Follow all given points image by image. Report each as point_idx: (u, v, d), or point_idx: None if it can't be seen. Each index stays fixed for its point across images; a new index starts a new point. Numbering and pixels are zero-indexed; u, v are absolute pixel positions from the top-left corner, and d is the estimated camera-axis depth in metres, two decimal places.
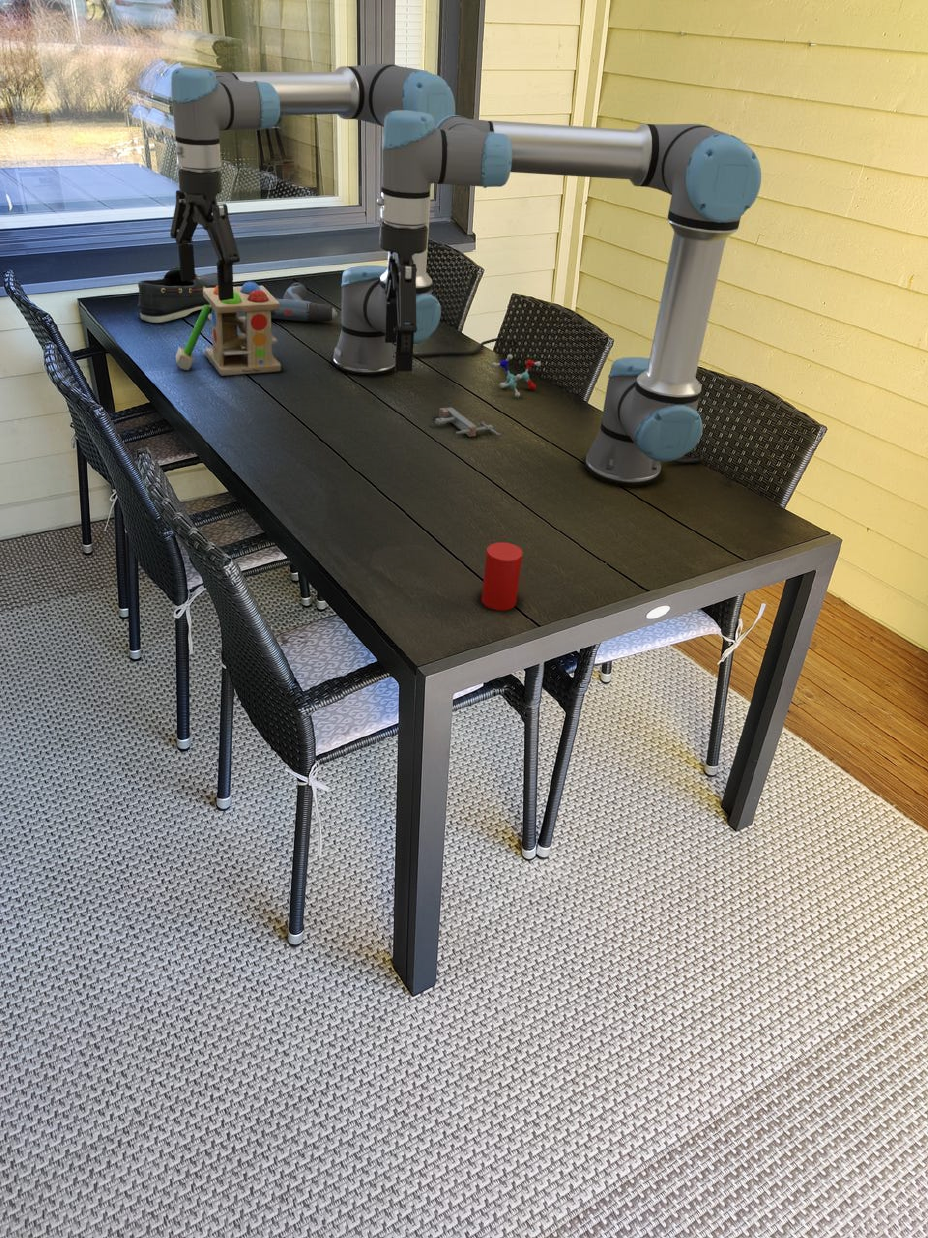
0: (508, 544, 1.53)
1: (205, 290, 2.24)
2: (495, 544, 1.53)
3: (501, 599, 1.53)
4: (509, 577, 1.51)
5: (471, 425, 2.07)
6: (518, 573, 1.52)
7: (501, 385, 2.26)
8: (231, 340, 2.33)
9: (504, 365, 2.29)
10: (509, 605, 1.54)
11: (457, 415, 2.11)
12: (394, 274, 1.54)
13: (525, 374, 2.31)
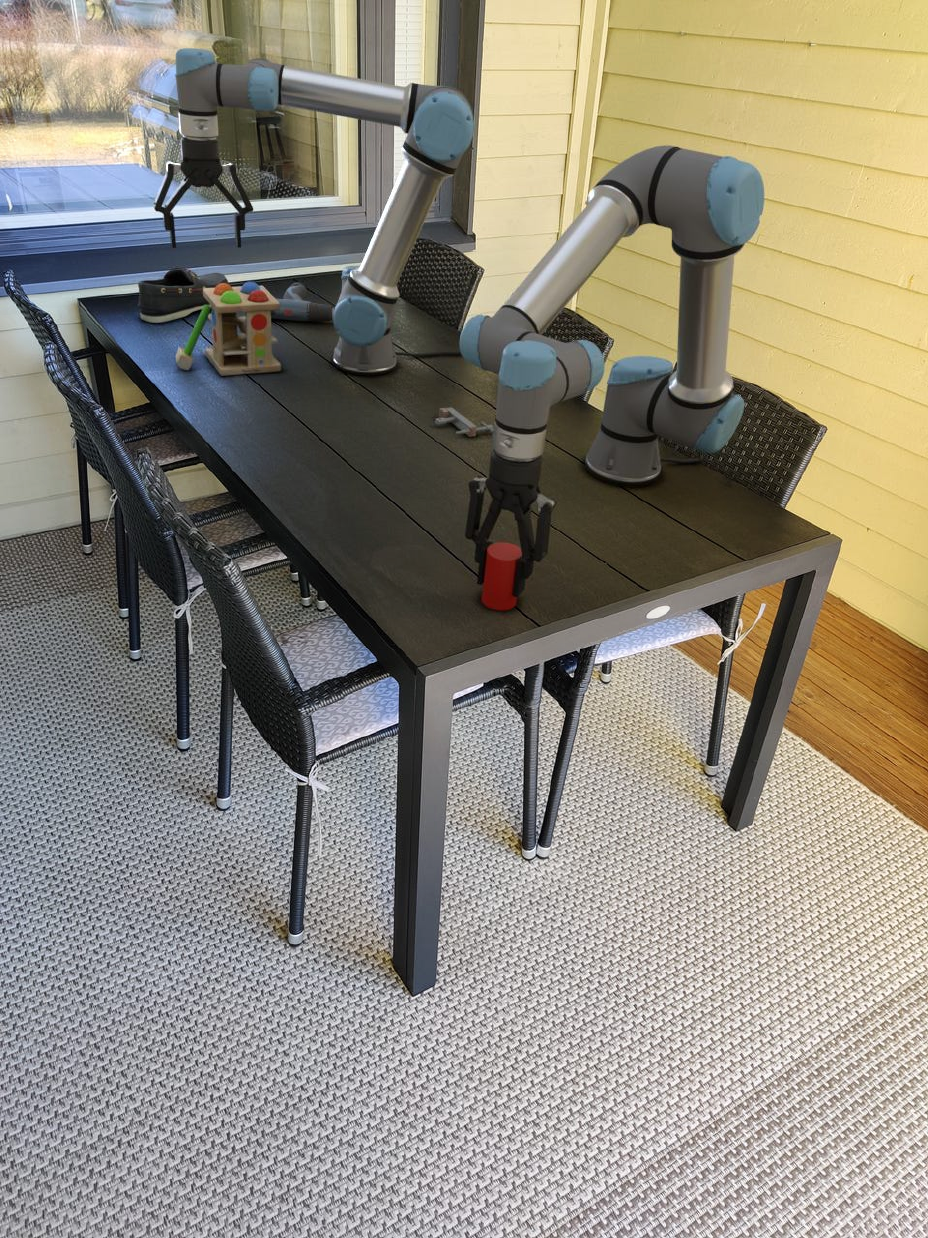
0: (508, 544, 1.53)
1: (205, 290, 2.24)
2: (495, 544, 1.53)
3: (501, 599, 1.53)
4: (509, 577, 1.51)
5: (471, 425, 2.07)
6: None
7: None
8: (231, 340, 2.33)
9: None
10: (509, 605, 1.54)
11: (457, 415, 2.11)
12: (520, 507, 1.44)
13: None
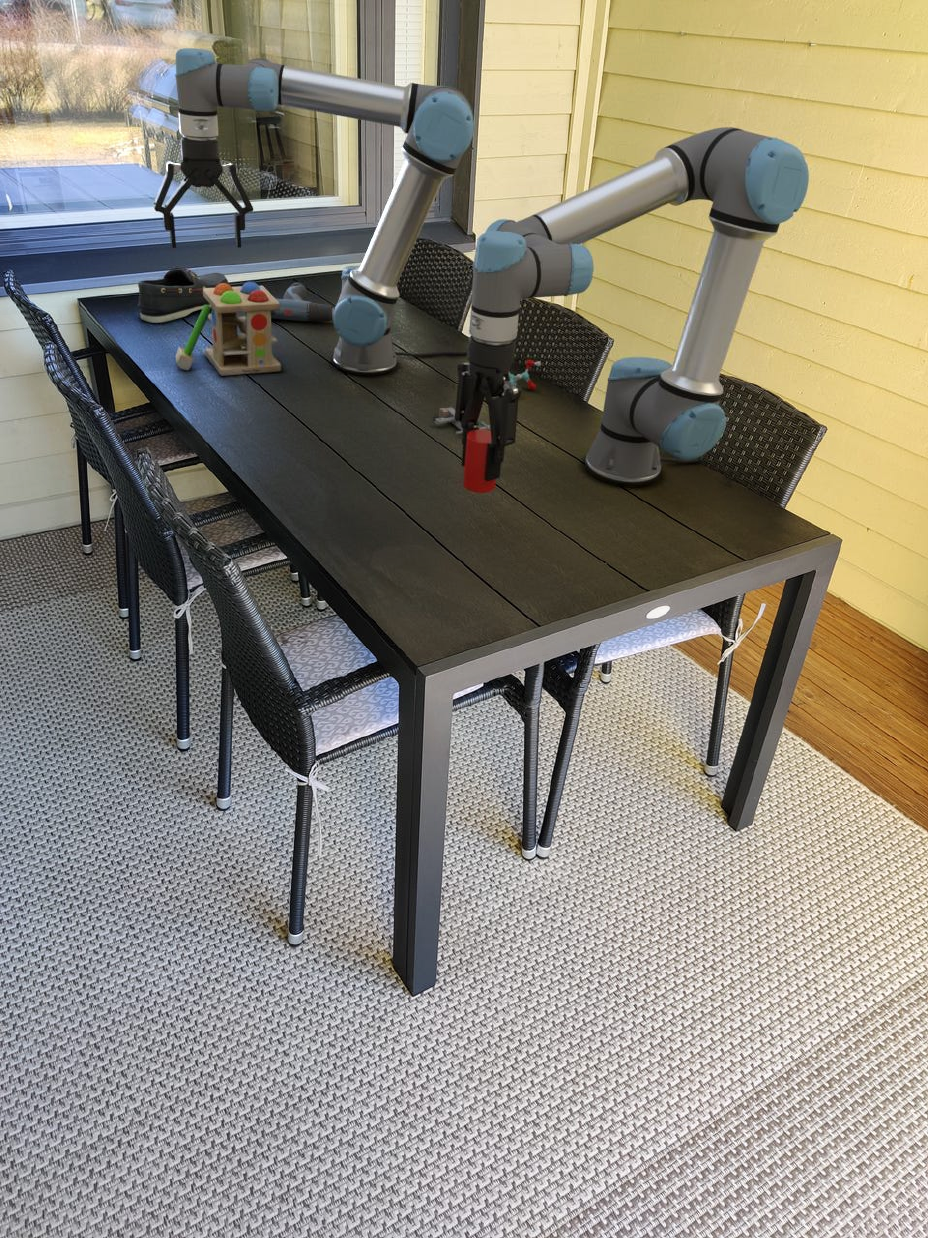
0: None
1: (205, 290, 2.24)
2: (480, 430, 1.65)
3: (474, 480, 1.65)
4: (481, 460, 1.63)
5: None
6: None
7: None
8: (231, 340, 2.33)
9: None
10: (481, 488, 1.66)
11: None
12: (489, 390, 1.56)
13: (525, 374, 2.31)
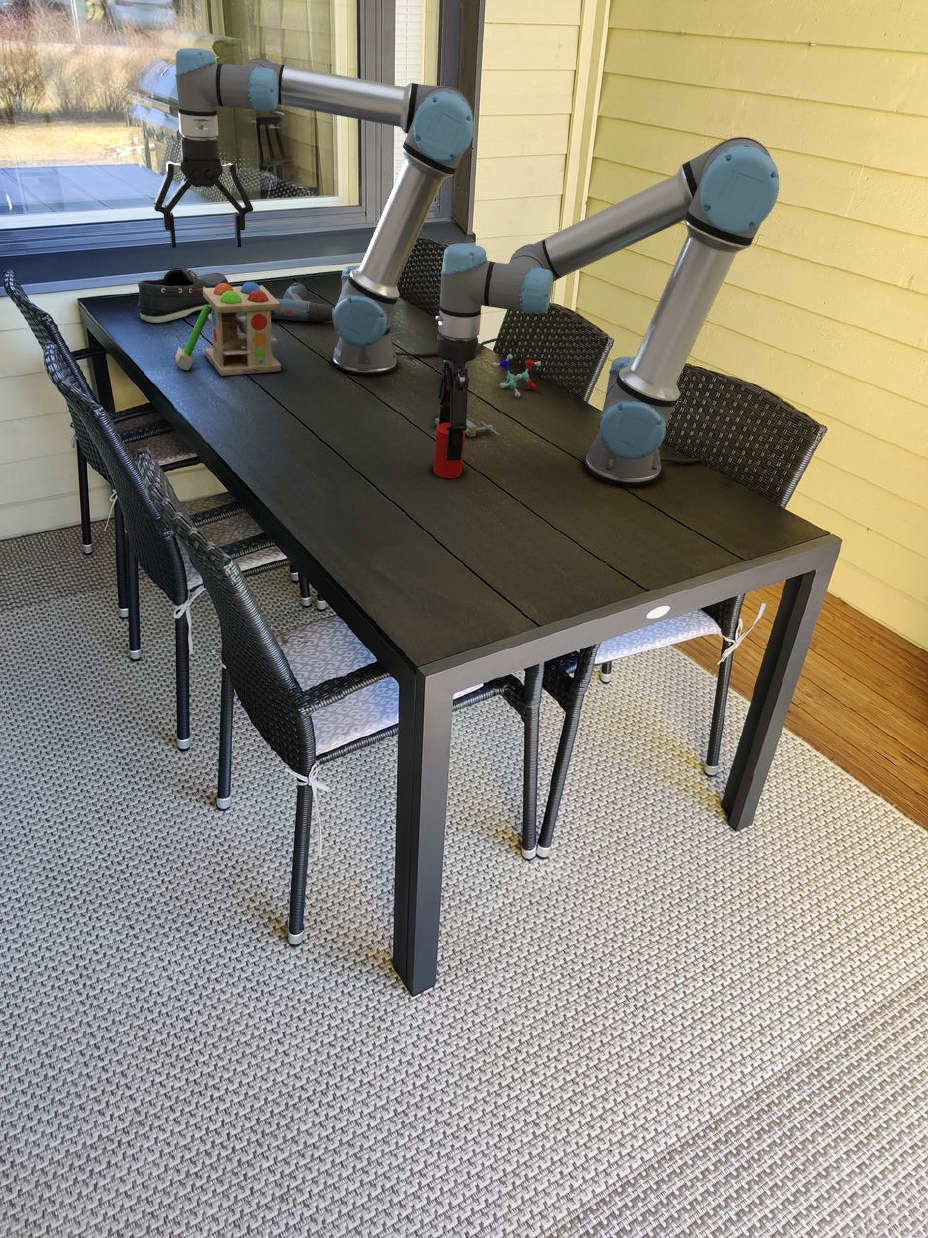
0: None
1: (205, 290, 2.24)
2: None
3: (437, 465, 1.91)
4: (441, 447, 1.88)
5: (471, 425, 2.07)
6: None
7: (501, 385, 2.26)
8: (231, 340, 2.33)
9: (504, 365, 2.29)
10: (442, 473, 1.91)
11: None
12: (448, 379, 1.80)
13: (525, 374, 2.31)
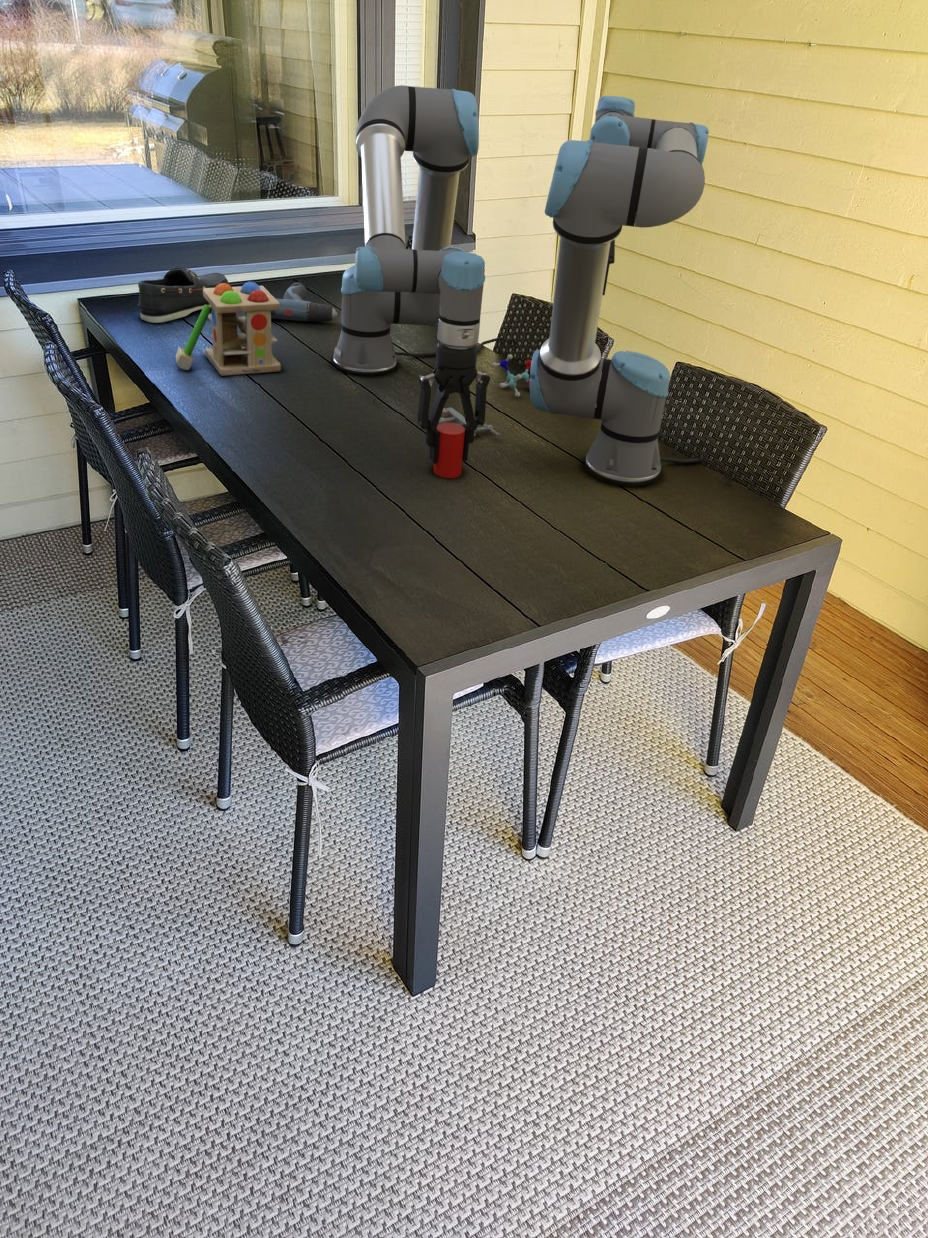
0: (461, 427, 1.89)
1: (205, 290, 2.24)
2: (454, 423, 1.90)
3: (437, 465, 1.91)
4: (441, 447, 1.88)
5: None
6: (451, 448, 1.88)
7: (501, 385, 2.26)
8: (231, 340, 2.33)
9: (504, 365, 2.29)
10: (442, 473, 1.91)
11: (457, 415, 2.11)
12: None
13: (525, 374, 2.31)
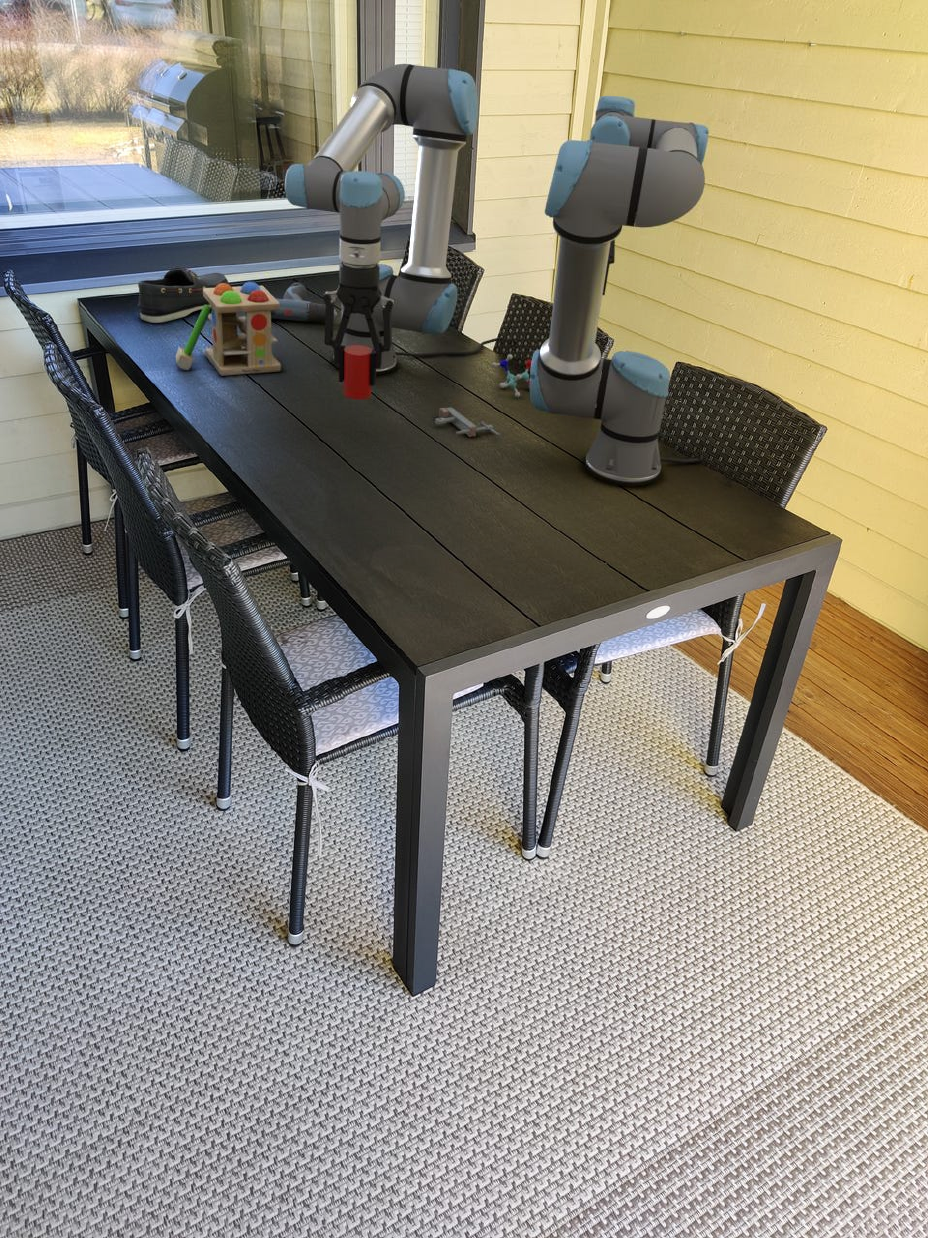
0: (369, 351, 1.93)
1: (205, 290, 2.24)
2: (366, 347, 1.94)
3: None
4: (345, 367, 1.93)
5: (471, 425, 2.07)
6: (352, 369, 1.92)
7: (501, 385, 2.26)
8: (231, 340, 2.33)
9: (504, 365, 2.29)
10: (346, 393, 1.96)
11: (457, 415, 2.11)
12: None
13: (525, 374, 2.31)
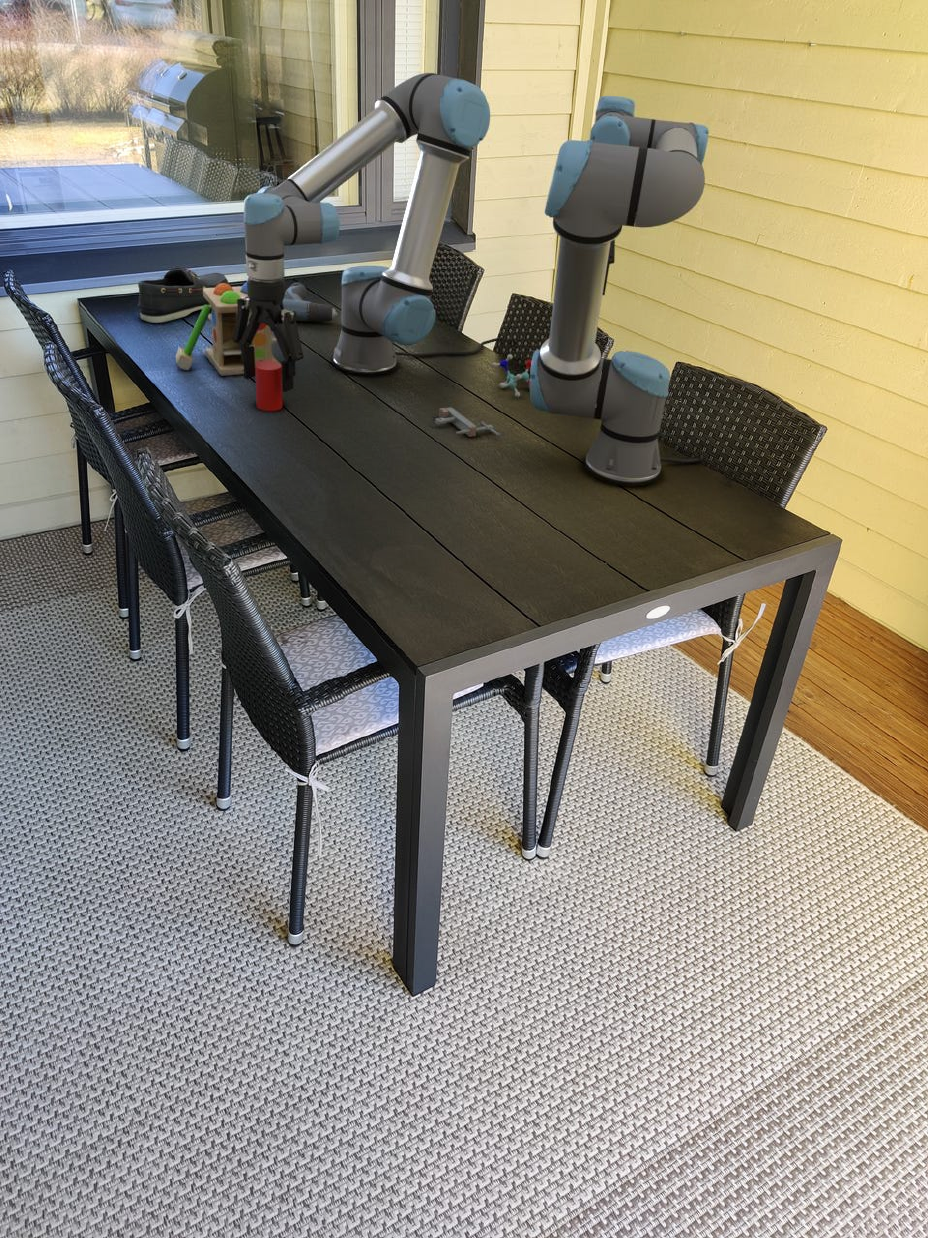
0: (276, 367, 2.07)
1: (205, 290, 2.24)
2: (279, 364, 2.08)
3: None
4: None
5: (471, 425, 2.07)
6: (258, 381, 2.08)
7: (501, 385, 2.26)
8: (231, 340, 2.33)
9: (504, 365, 2.29)
10: (256, 403, 2.11)
11: (457, 415, 2.11)
12: None
13: (525, 374, 2.31)
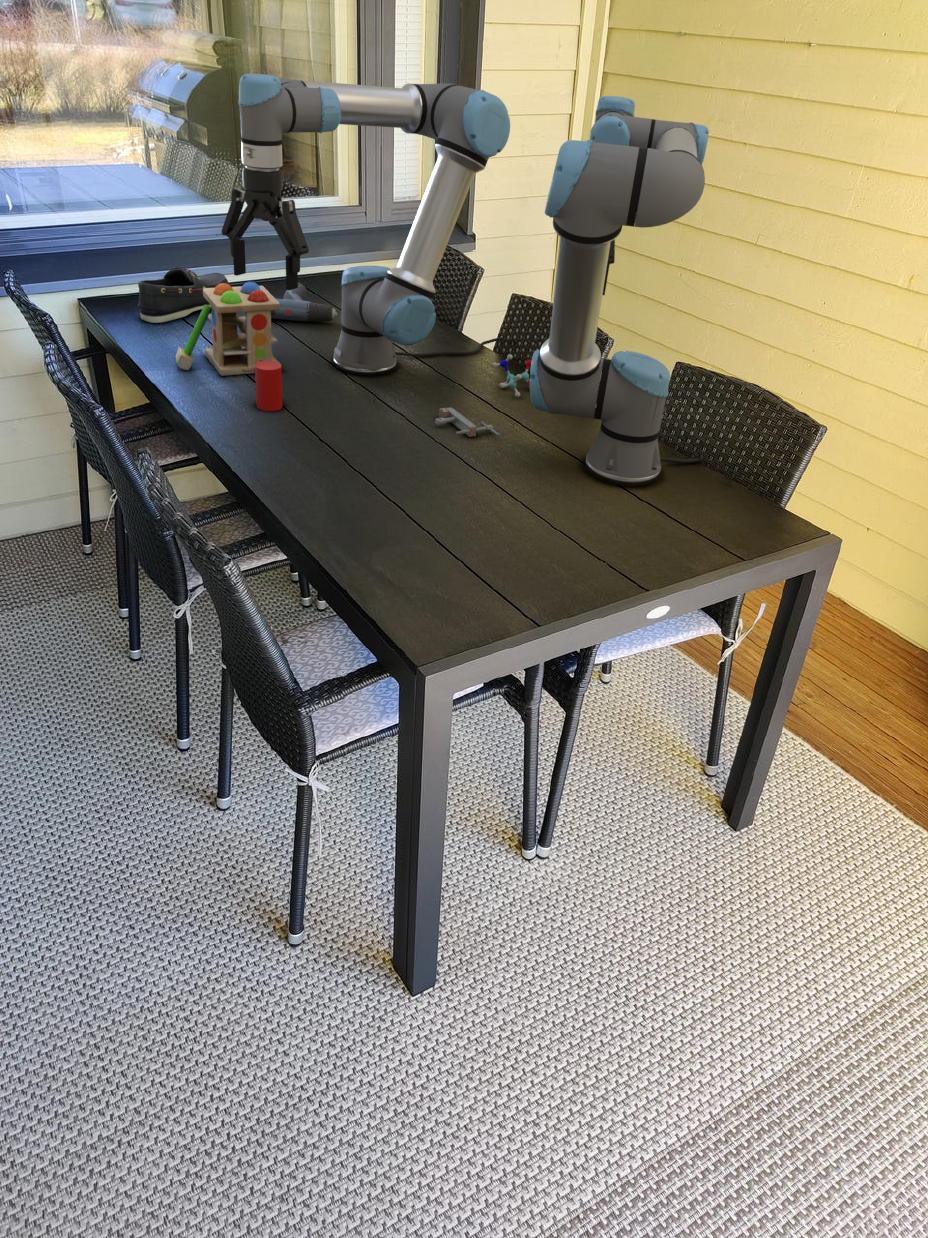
0: (276, 367, 2.07)
1: (205, 290, 2.24)
2: (279, 364, 2.08)
3: None
4: None
5: (471, 425, 2.07)
6: (258, 381, 2.08)
7: (501, 385, 2.26)
8: (231, 340, 2.33)
9: (504, 365, 2.29)
10: (256, 403, 2.11)
11: (457, 415, 2.11)
12: None
13: (525, 374, 2.31)
